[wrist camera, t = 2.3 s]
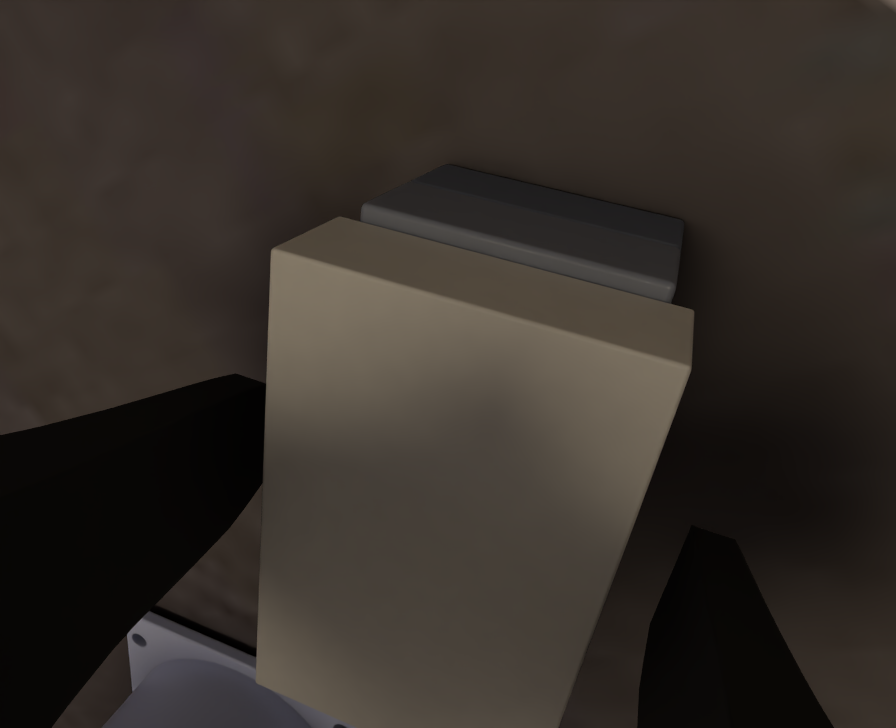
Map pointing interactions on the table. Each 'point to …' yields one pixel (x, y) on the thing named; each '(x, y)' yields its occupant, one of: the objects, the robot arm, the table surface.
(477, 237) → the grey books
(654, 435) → the beige box
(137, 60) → the table surface
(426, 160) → the table surface
